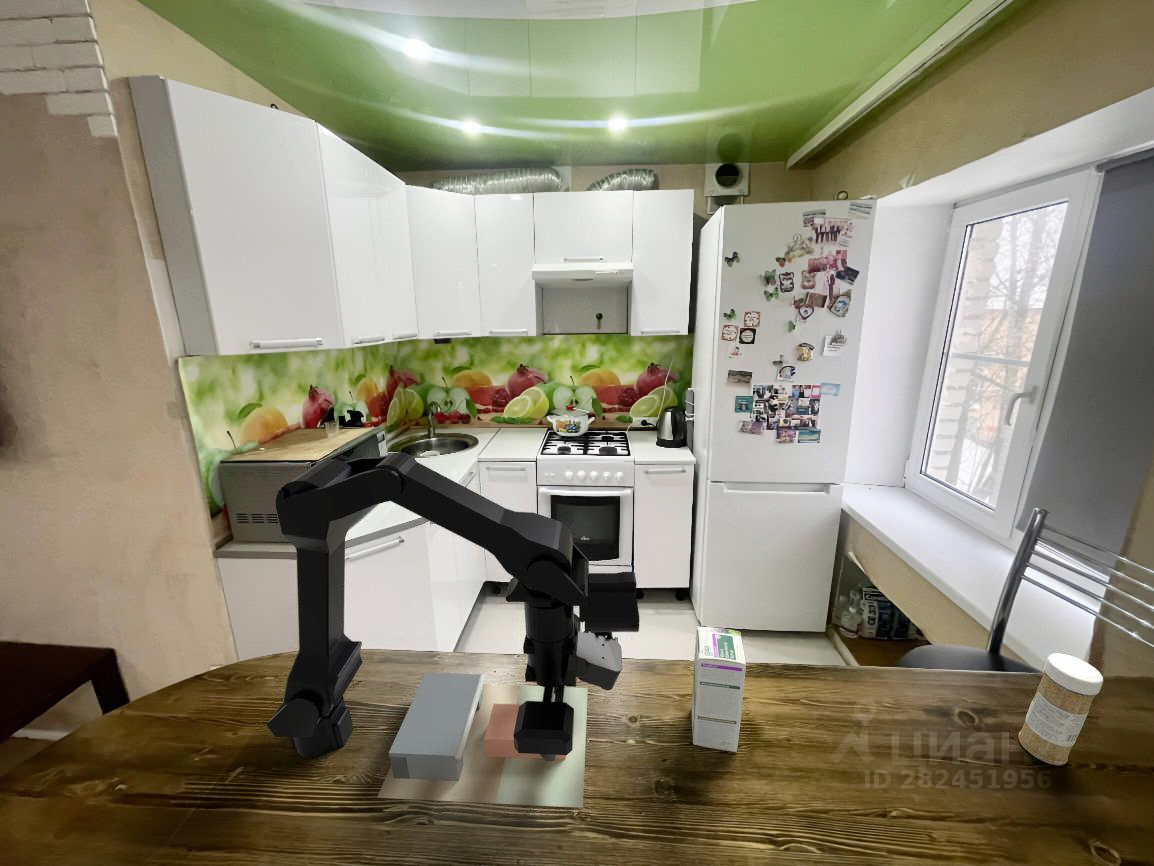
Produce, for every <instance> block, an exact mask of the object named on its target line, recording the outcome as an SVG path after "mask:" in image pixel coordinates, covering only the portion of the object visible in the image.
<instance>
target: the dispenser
mask: <svg viewBox="0 0 1154 866" xmlns="http://www.w3.org/2000/svg"><path fill="white" fill-rule="evenodd" d="M486 675H487V674H484V673H480V674H479V673H478V674H477V673H475V674H474V673H447V672H446V673H445V672H425V673H424V675H423V678H422V680H421V682H420V683H419V686H418V688H417V690H416V693H415V695H414V697H413V699H412V702H410V705H409V707H408V710H407V711H406V714H405V716H404V719H403V721H402V723H401V725H400V728H399V730H398V731H397V734H396V736H395V738H394V740H393V743H392V745H391V747H390V749H389V751H388V757H389V761H390V767H392V772H393V776H394V778H402V779H423V780H444V781H459V779H460V775H461V772H462V769H463V765H464V763H463V751H464V748H465V745H466V741H467V738H468V735H469V731H470V728H471V725H472V721H473V718H474V715H475V711H476V709H478V710H480V707H481V703H482V700H483V690H482V688H483V685H484V684H485V681H486V678H487V676H486Z"/></svg>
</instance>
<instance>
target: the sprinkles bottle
mask: <svg viewBox="0 0 1154 866" xmlns="http://www.w3.org/2000/svg"><path fill="white" fill-rule="evenodd" d="M1043 668H1044V670H1043V671H1044V673H1043V676H1042V678H1041V680H1040V682H1039V685H1038V686H1037V689H1036V692H1035V694H1034V696H1033V699H1032V700H1031V703H1030V706H1029V708H1028V710H1027V713H1026V715H1025V721H1024V724H1023V725H1022V728H1021V730H1020V731H1019V732H1018V737H1017V738H1018V741H1019V742H1020V744H1021V745H1022V748H1024V749H1025V750H1026V751H1027V752H1028V753H1029V754H1030V755H1032V756H1033V757H1034V758H1036V759H1038V760H1040V761H1042V762H1044V763H1046V764H1049V765H1053V766H1063V765H1066V763H1067V762H1068V761H1069V759H1068V757H1069V754H1070V753H1071V750H1072V748H1073V746H1074V745H1075V743H1076V741H1077V739H1078V737H1079V734H1080V732H1081V730H1082V728H1083V726H1084V723H1085V722H1086V719H1087V716H1088V714H1089V712H1090V711H1089V710H1090V707H1091V706H1092V702H1093V700H1094V698H1095V697H1096V696H1097V695H1098V694H1099V692H1100V691H1101V689H1102V686H1103V684H1104V677H1103V675H1102V674H1101V672H1100V671H1099V670H1098V669H1096V667H1094V666H1092V665H1091V664H1089V663H1088V662H1086V661H1084V660H1082V659H1080V658H1078V657H1075V656H1072V655H1069V654H1064V653H1051V654H1049V655H1048V656H1047V659H1046V661H1045V664H1044V666H1043Z"/></svg>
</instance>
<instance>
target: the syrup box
mask: <svg viewBox="0 0 1154 866" xmlns="http://www.w3.org/2000/svg"><path fill="white" fill-rule="evenodd" d="M741 634H742V633H741V631H739V630H734V629H728V628H723V627H715V626H698V625H697V627H696V634H695V646H694V660H693V661H694V662H693V664H694V665H693V679H692V680H693V682H692V692H691V693H692V694H691V729H692V730H691V732H692V744H693V745H695V746H699V747H703V748H708V749H714V750H720V751H727V752H733V753H737V751H738V746H739V738H740V729H741V719H742V709H743V700H744V689H745V676H746V670H747V669H746V668H747V663H746V658H745V654H744V653H745V652H744V646H743V642H742V640H743V639H742V635H741Z"/></svg>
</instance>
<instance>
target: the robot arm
mask: <svg viewBox="0 0 1154 866" xmlns="http://www.w3.org/2000/svg"><path fill="white" fill-rule="evenodd" d="M388 502H391V503H394V504H395V505H397V506H399V507H401V508H404V509H405V510H408V511H409V512H411V513H413V514H415V515H417V516H419V517H421V518H423V519H424V520H428V521H429V522H431V523H433V524H435V525H437V526H439V527H441V528H442V529H445V530H447V531H449V532H451V533H452V534H455V535H456V536H459V537H460V538H462V539H465V540H466V541H469V542H471V543H473V544H475V545H476V546H478V547H481V548H483V549H484V550H486V551H487V552H488V553H490V554H491V555H493V556H494V557H495V559H496V560H497V561H498V563H499V564H500V566H501V567H502V568H503V570H504V571H505V572H506V573H507V574H508V575H510V576H511V577H512V578H510V580H509V583H508V587H507V591H506V595H505V601H506V602H507V603H523V607H524V621H525V635H524V636H525V637H524V640H523V645H522V650H523V651H522V652H523V655H527V663H526V669H525V674H524V680H525V682H527V683H528V682H529V683H531V682H532V683H536V686H542V687H544V694H543V701H526V702H524V703H523V704H522V705H521V706H519V709H518V714H517V719H516V724H515V729H514V734H513V738H514V748H515V749H516V750H517V752H518V753H527V754H540V755H541V756H542V757H543V758H544V759H545V760H546V761H555V758H556V755H568V754H569V753H570V752H571V751H572V749H573V734H574V708H572V707H571V706H570V705H569V704H567V703H566V702H563V701H564V690H565V687H577V679H578V680H580V681H581V682H584V683H588V684H590V685H593V686H596V687H600V688H601V689H602V690H604V691H611V690H613V688H614V686H615V684H616V682H617V680H618V678H619V676H620V674H621V672H622V671H623V656H622V655H623V653H622V652H623V651H622V650H623V649H622V646H621V644H620V643H619V637H618V636H613V633H639V630H640V612H639V604H638V593H637V578H636V573H635V572H634V571H621V572H610V573H609V572H590V569H589V568H590V561H589V558H587V556H586V555H585V554H584V553H583V552H582V551H581V549H580V548H579V547H578V546H577V545H576V543H574V539H573V536H572V533H571V530H570V529H569V527H568V526H567V525H565V524H564V523H563V522H562V521H559V520H557V519H554V518H552V517H548V516H545V515H541V514H539V513H536V512H533V511H532V512H529V511H527V512H526V511H515V510H511V509H509V508H506V507H504V506H502V505H500V504H499V503H497V502H494V501H493V500H490V499H489V498H487V497H485V496H482V495H481V494H479V493H477V492H475V491H474V490H472V489H469V488H467V486H464V485H462V484H460V483H458V482H456V481H454V480H452V479H451V478H448V477H447V476H445V475H442V474H441V473H439V472H437V471H435V470H433V469H432V468H429V467H428V466H425V465H424V464H422V463H420V462H419V461H417V460H416V458H415V457H413V456H412V455H411V454H409V453H406V452H404V451H403V452H393V453H390V454H387V455H381V456H379V455H377V456H363V457H359V458H355V459H350V460H346V461H343V460H339V459H336V458H327V459H324V460H320V461H319V462H316V464H314V465H313V466H312V467H310V468H308V469H307V470H305V471H303V472H302V473H301V474H299V475H298V476H296V477H294V478H293V479H292V480H290V481H288V482H287V483H286V484H284V485H282V487H280V489H278V490H277V492H276V494H275V496H274V508H275V512H276V516H277V521H278V524H279V529H280V532H281V534H282V536H284V538H286V540H288V541H289V543H290V544H292V545H293V547H294V548H295V551H296V579H297V580H296V581H297V582H296V587H297V589H296V591H297V619H298V621H297V622H298V623H297V624H298V652H297V654H296V657H295V659H294V661H293V664H292V667H291V668H290V672H289V673H288V676H287V678H286V682H285V687H284V692H283V702H282V703H281V704H280V706H279V707H278V709H276V711H275V712H274V714H273V715H272V717H271V718H270V719H269V721H268V722H267V723H266V727H267V728H268V729H269V731H270V732H271V733H272V734H273V736H274V737H277V738H289V743H290V746H291V748H292V749H296V750H297V753H298V755H300V757H302V758H307V759H313V758H317V757H318V758H319V757H320V756H321V757H322V756H323V755H325V754H327V753H328V752H330V751H337V750H339V749H342V748H344V747H345V746H346V743H347V742H348V741H349V739H350V737H351V735H352V733H353V731H354V724H353V721H352V716H351V711H350V708H349V707H348V706H346V702H345V698H344V694H345V692H346V691H347V689H348V688H349V686H350V685H351V682H352V681H353V679H354V678H355V676H356V675H357V673H358V671H359V669H360V668H361V666H362V664H363V663H364V661H363V660H362V657H361V649H362V645H363V642H362V641H360V640H358V641H357V640H352V639H351V638H350V637H348V636H347V634H345V585H346V584H345V575H346V573H345V572H346V571H345V570H346V569H345V568H346V566H345V565H346V564H345V563H346V562H345V561H346V558H345V557H346V537H347V533H348V532H349V529H350V526H351V524H352V523H353V519H354V518H355V515H356V513H358V512H361V511H363V510H365V509H368V508H370V507H372V506H373V507H374V506H375V505H379V504H382V503H383V504H384V503H388ZM575 607H578V609H579V610H578V611H579V612H578V613H579V615H577V614H576V613H575V611H574V609H575ZM581 623H584V631H582V630H581V628H582V627H581ZM554 694H556V695H555V701H554V702H553V696H554Z"/></svg>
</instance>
